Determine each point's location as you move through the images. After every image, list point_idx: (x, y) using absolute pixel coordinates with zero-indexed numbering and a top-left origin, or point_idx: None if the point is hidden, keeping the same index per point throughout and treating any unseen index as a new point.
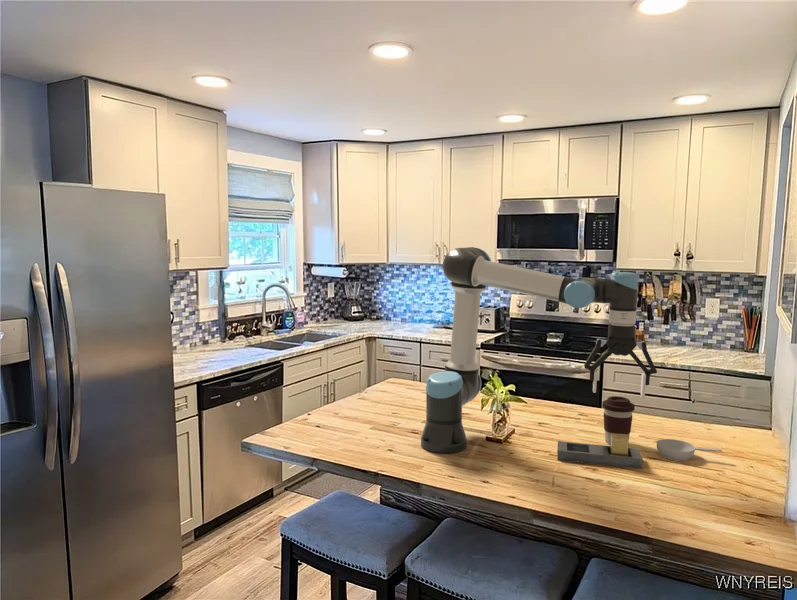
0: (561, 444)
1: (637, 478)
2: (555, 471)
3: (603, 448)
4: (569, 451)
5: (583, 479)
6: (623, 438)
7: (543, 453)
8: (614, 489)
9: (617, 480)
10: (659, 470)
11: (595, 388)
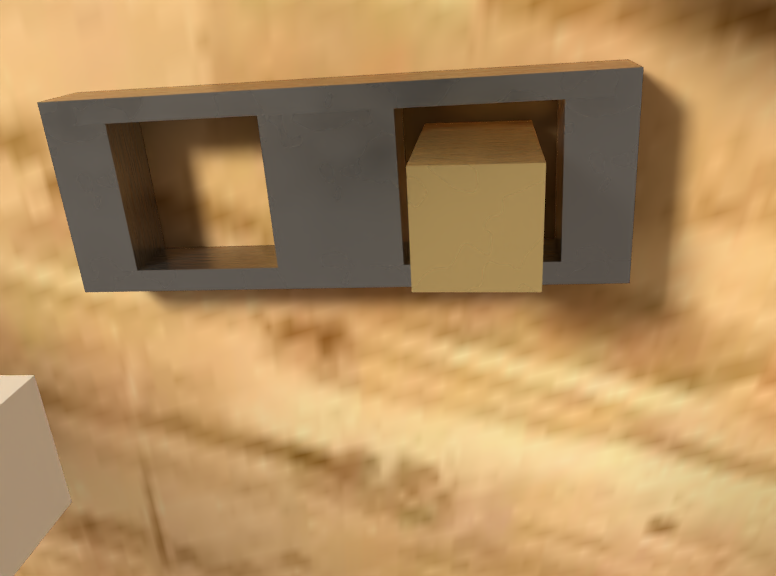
0: (78, 169)
1: (561, 397)
2: (141, 418)
3: (367, 154)
4: (154, 283)
5: (284, 473)
6: (502, 277)
7: (14, 184)
8: (429, 539)
9: (450, 446)
10: (729, 246)
11: (17, 558)
